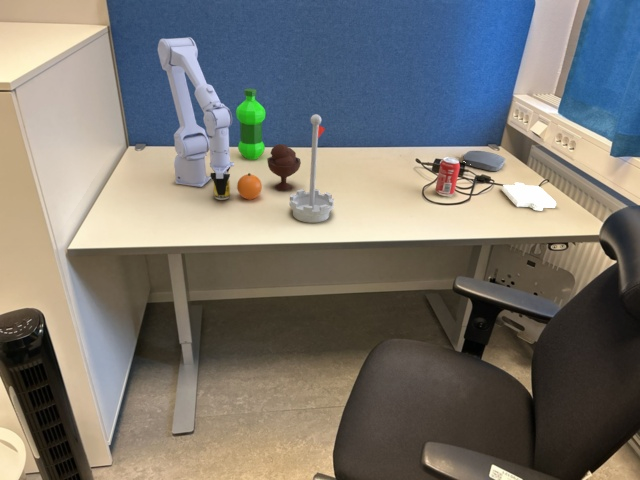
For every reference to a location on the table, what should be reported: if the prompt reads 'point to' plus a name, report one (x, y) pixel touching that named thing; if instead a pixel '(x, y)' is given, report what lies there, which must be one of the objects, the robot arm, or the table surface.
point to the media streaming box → (484, 160)
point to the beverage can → (447, 176)
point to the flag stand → (312, 188)
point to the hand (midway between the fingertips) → (221, 191)
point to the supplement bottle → (227, 193)
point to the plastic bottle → (250, 126)
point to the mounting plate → (528, 196)
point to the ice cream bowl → (283, 164)
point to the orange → (249, 186)
